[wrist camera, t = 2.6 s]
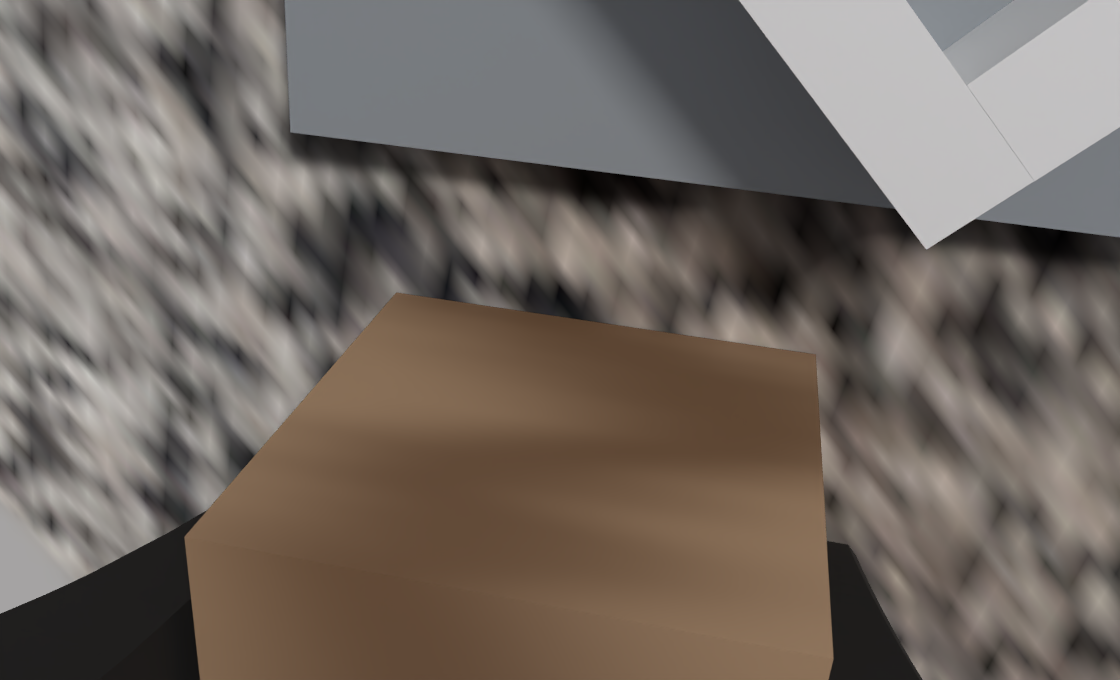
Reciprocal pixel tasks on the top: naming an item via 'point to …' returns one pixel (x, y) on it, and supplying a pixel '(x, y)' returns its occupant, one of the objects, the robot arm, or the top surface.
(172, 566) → the robot arm
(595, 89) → the base plate
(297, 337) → the top surface
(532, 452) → the block
